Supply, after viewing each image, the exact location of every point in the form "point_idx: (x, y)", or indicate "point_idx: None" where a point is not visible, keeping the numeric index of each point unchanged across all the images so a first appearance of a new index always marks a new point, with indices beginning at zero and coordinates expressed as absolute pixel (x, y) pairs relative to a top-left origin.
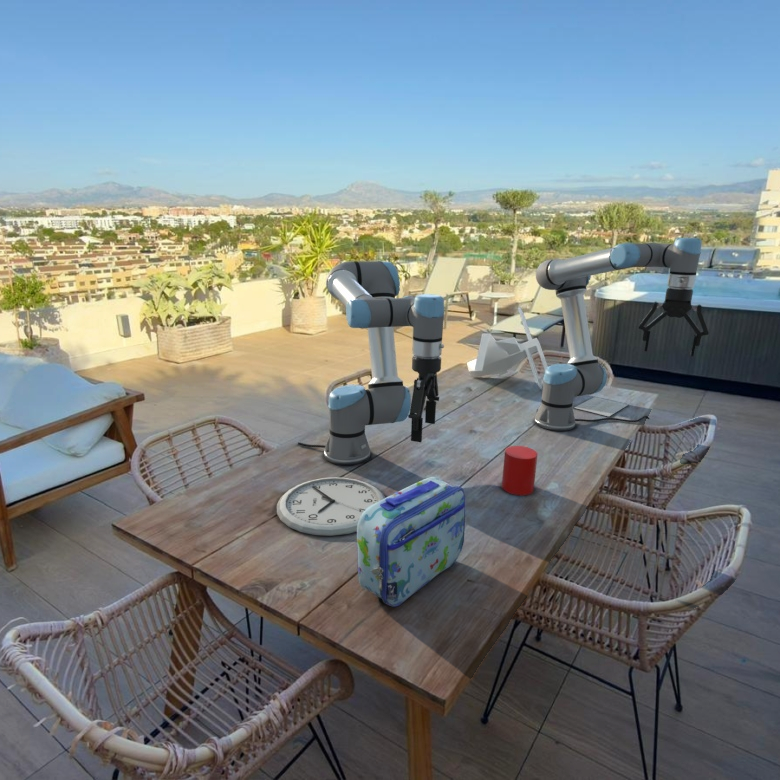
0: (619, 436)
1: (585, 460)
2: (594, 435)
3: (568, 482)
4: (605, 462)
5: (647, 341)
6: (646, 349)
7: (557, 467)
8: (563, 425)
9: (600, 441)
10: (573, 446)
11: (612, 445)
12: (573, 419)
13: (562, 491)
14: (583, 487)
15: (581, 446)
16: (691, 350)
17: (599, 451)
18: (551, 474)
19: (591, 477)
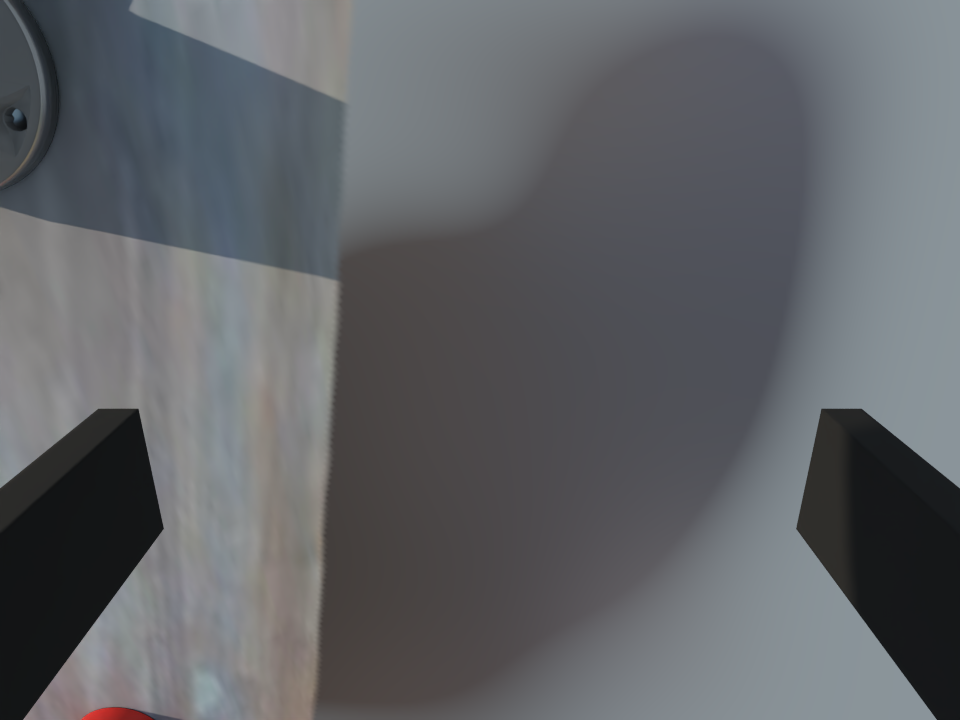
0: (312, 87)
1: (240, 471)
2: (191, 145)
3: (241, 654)
4: (314, 454)
5: (45, 657)
6: (137, 550)
7: (170, 573)
8: (4, 176)
9: (240, 222)
10: (150, 352)
11: (303, 248)
12: (14, 93)
13: (243, 709)
14: (291, 664)
15: (181, 334)
16: (850, 527)
17: (266, 353)
18: (174, 628)
19: (296, 593)
